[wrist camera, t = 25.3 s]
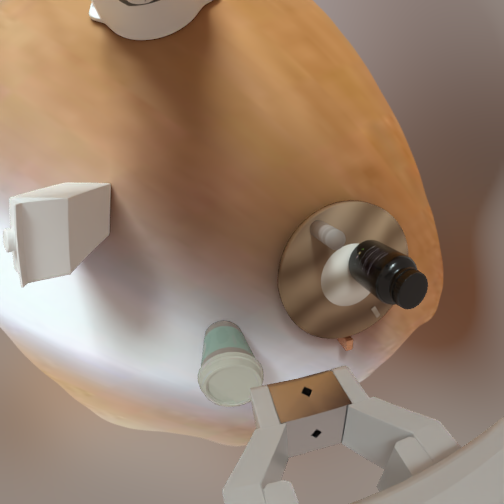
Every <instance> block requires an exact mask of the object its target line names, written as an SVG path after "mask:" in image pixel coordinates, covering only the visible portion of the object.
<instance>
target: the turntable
mask: <svg viewBox="0 0 504 504" xmlns="http://www.w3.org/2000/svg"><path fill="white" fill-rule="evenodd" d="M366 240H376V241H379V242H381V243H383V244H385V245H387V246H389V247H391V248H393V249H395V250H397V251H399V252H401V253H403V254H405V255H407V256H408V246H407V242H406V238H405V235H404V233H403V230H402V228H401V227H400V225H399V224H398V222H397V221H396V220H395V219H394V217H393V216H392V215H390V214H389V213H388V212H387V211H385V210H384V209H382V208H380V207H378V206H375V205H373V204H370V203H367V202H362V201H353V200H350V201H341V202H337V203H333V204H330V205H328V206H325V207H323V208H322V209H320V210H318V211H316V212H315V213H313V214H312V215H311V216H309V217H308V218H307V219H306V220H305V221H304V222H303V223H302V224H301V225H300V226H299V227H298V228H297V230H296V231H295V232H294V233H293V235H292V236H291V238H290V240H289V241H288V243H287V245H286V247H285V249H284V251H283V254H282V257H281V260H280V265H279V270H278V289H279V294H280V298H281V301H282V303H283V306H284V307H285V309H286V311H287V313H288V314H289V316H290V318H291V319H292V320H293V321H294V323H295V324H296V325H297V326H298V327H300V328H301V329H302V330H304V331H305V332H307V333H309V334H311V335H314V336H317V337H321V338H328V339H337V338H344V337H348V336H352V335H354V334H357V333H359V332H361V331H363V330H365V329H367V328H369V327H370V326H372V325H373V324H374V323H376V322H377V321H378V320H379V319H381V318H382V317H383V316H384V315H385V314H386V313H387V311H388V310H389V309H390V308H391V306H392V305H388V304H385V303H383V302H381V301H380V300H379V299H378V298H376V297H375V296H374V295H373V294H371V293H370V292H369V291H368V290H366V289H365V288H364V287H363V286H362V285H360V284H359V283H358V282H357V281H355V280H354V279H353V277H352V276H351V274H350V272H349V258H350V255H351V253H352V251H353V250H354V249H355V247H356V246H357V245H358V244H360V243H361V242H363V241H366Z"/></svg>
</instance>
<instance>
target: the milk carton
mask: <svg viewBox="0 0 504 504" xmlns="http://www.w3.org/2000/svg"><path fill="white" fill-rule="evenodd" d="M110 197H111V184H110V183H61V184H57V185H53V186H49V187H46V188H42V189H38V190H34V191H31V192H27V193H24V194H20V195H17V196H13V197H10V198H9V213H10V228H7V229H4V230H3V243H4V247H5V250H6V252H12V254H13V262H14V268H15V270H16V271H17V272H18V274H19V276H20V283H21V287H24V286H25V285H26V284H27V283H31V282H35V281H40V280H45V279H50V278H54V277H59V276H64V275H69V274H71V273H72V272H73V271H74V270H75V268H76V267H77V266H78V265H79V264H80V263H81V262H82V261H83V260H84V259H85V258H86V257H87V256H88V255H89V254H90V253H91V252H92V251H93V250H94V249H95V248H96V247H97V246H98V245H99V244H100V243H101V242H102V241H103V240H104V239H105V238H106V237H107V236H109V234H110Z"/></svg>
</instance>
